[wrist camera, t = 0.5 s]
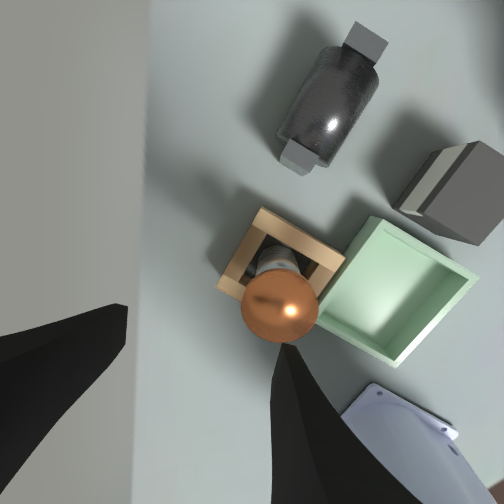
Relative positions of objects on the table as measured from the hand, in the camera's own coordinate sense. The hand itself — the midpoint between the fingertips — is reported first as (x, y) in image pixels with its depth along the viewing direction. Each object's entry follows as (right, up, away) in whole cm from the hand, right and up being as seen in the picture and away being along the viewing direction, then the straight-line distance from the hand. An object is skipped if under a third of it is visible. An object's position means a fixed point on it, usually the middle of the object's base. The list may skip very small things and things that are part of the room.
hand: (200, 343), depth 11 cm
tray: (+13, +1, +9) cm, 15 cm away
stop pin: (+4, +3, +9) cm, 11 cm away
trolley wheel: (+7, +13, +6) cm, 16 cm away
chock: (+16, +8, +7) cm, 19 cm away
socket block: (+4, +3, +9) cm, 11 cm away
